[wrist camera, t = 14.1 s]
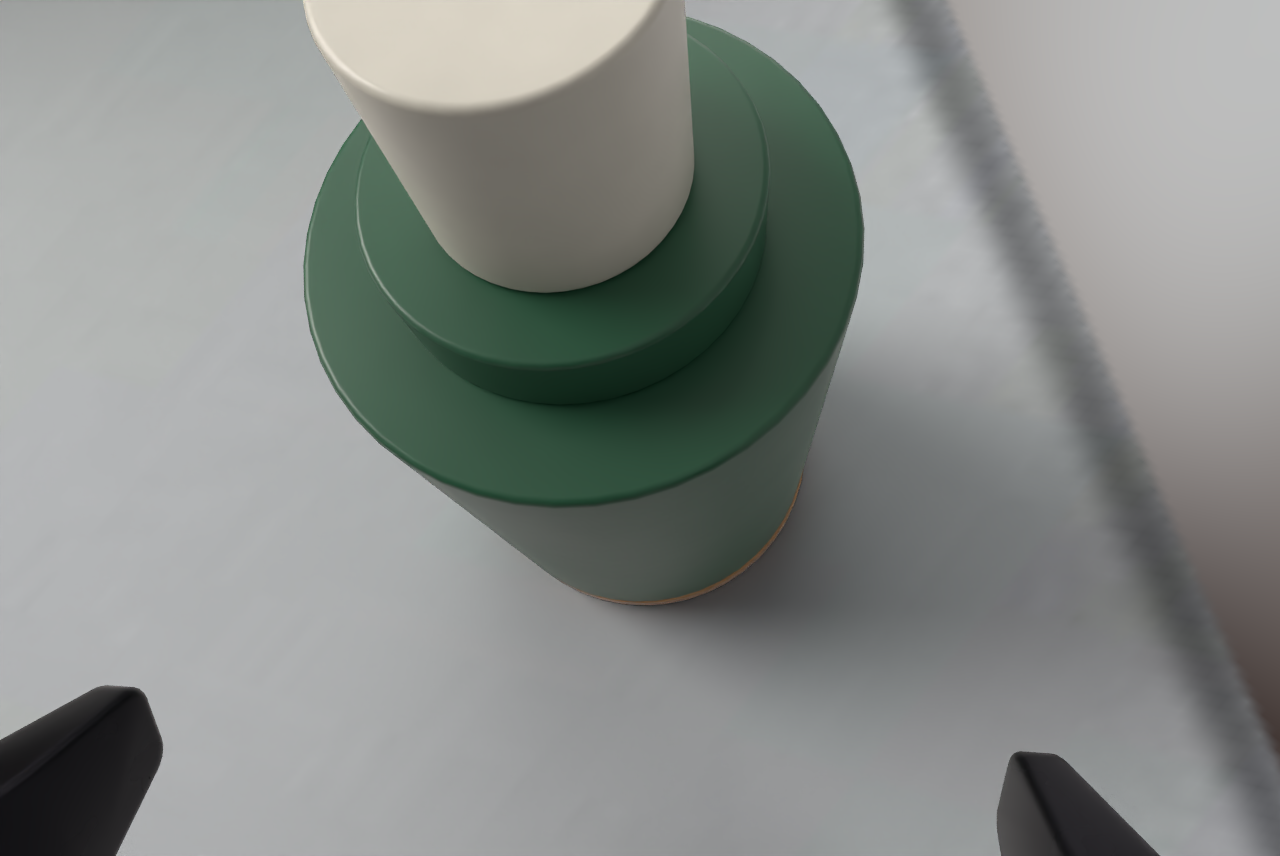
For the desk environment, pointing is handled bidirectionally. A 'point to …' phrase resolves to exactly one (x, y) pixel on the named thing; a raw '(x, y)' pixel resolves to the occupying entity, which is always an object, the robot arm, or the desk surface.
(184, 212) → the desk surface
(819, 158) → the bottle
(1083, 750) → the desk surface
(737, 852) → the desk surface
